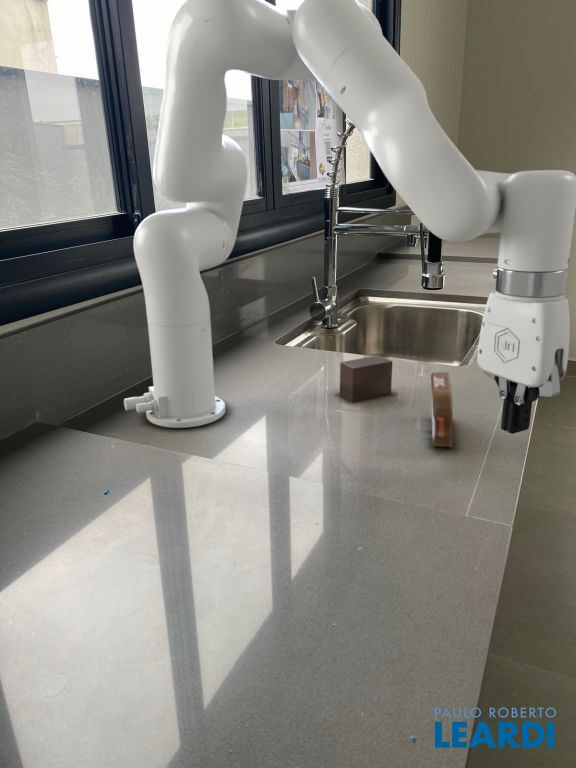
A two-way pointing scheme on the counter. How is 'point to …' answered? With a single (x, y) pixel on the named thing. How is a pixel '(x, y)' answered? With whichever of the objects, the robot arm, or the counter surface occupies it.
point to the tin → (441, 410)
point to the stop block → (365, 378)
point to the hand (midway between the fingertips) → (514, 429)
